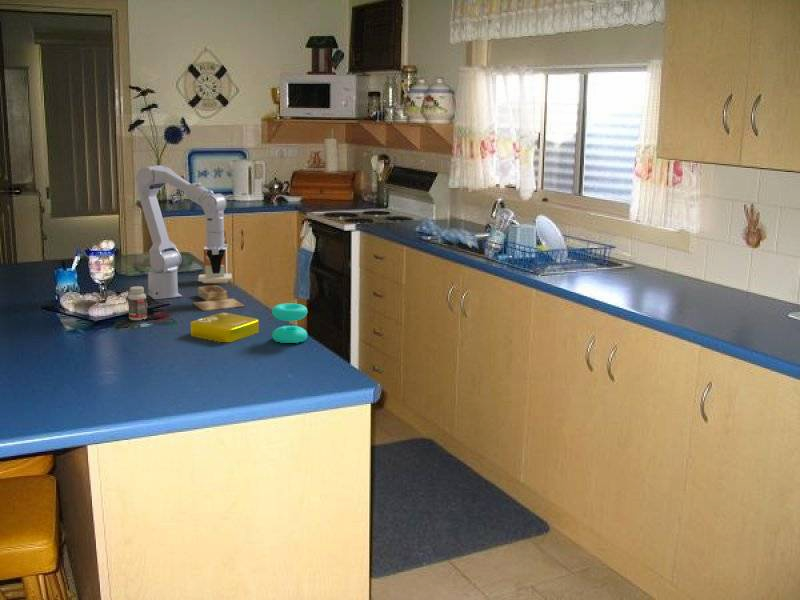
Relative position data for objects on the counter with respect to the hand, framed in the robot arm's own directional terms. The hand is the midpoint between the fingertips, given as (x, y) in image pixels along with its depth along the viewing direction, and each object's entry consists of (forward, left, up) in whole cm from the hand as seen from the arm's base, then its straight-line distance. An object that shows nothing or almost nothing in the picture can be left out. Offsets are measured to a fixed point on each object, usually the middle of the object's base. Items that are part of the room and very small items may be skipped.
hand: (216, 272), depth 277 cm
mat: (0, -3, -11) cm, 11 cm away
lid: (0, 0, -2) cm, 2 cm away
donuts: (+5, -49, -11) cm, 51 cm away
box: (+1, +8, -11) cm, 13 cm away
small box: (+10, +31, -11) cm, 34 cm away
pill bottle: (-28, -8, -11) cm, 31 cm away
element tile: (-10, -35, -11) cm, 38 cm away
